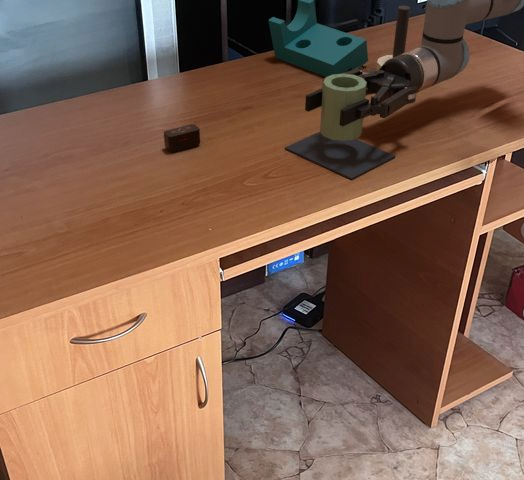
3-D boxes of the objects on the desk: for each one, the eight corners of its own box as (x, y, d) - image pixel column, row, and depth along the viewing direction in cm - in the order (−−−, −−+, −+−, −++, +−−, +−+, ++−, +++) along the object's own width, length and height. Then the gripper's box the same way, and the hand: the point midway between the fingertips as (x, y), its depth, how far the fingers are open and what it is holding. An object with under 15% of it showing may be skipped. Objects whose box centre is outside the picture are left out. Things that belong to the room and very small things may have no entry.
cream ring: (423, 76, 167) (425, 62, 165) (399, 87, 162) (401, 72, 160) (392, 65, 171) (394, 51, 169) (368, 75, 167) (369, 61, 165)
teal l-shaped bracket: (276, 63, 178) (268, 20, 170) (308, 39, 182) (302, -4, 174) (335, 86, 169) (330, 41, 161) (368, 60, 172) (364, 16, 164)
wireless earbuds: (205, 144, 144) (204, 128, 142) (170, 154, 141) (169, 137, 139) (193, 135, 147) (192, 118, 145) (159, 144, 144) (157, 127, 142)
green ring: (369, 132, 139) (374, 82, 133) (342, 144, 135) (347, 94, 129) (339, 119, 143) (342, 70, 137) (312, 131, 139) (315, 81, 133)
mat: (395, 157, 141) (395, 155, 141) (351, 180, 134) (351, 178, 134) (328, 129, 149) (328, 127, 149) (284, 149, 143) (284, 147, 143)
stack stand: (435, 81, 168) (446, 7, 158) (400, 96, 161) (409, 21, 151) (390, 65, 174) (399, -6, 164) (355, 80, 168) (362, 7, 158)
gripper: (448, 111, 142) (367, 151, 130) (363, 78, 153) (281, 113, 141) (455, 70, 137) (372, 108, 125) (367, 39, 148) (282, 72, 136)
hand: (324, 110), depth 133 cm, fingers closed on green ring, 7 cm apart
